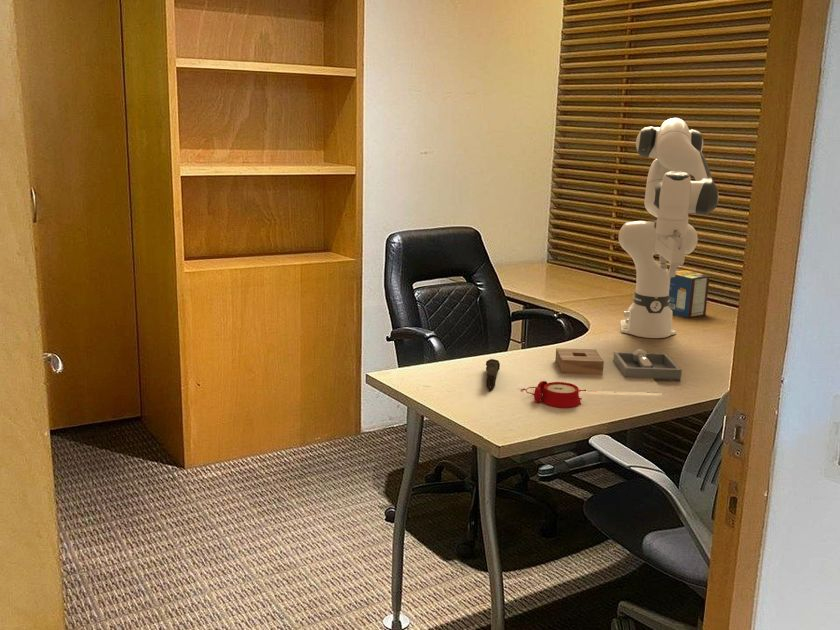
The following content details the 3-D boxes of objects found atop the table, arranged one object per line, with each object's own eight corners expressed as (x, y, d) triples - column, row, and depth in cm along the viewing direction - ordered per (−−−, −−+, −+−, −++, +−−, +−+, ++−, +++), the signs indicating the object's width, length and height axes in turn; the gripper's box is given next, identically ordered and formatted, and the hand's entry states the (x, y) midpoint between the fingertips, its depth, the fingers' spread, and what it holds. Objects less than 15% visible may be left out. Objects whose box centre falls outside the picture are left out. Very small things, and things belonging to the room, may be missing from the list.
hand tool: (485, 370, 243) (486, 355, 242) (499, 371, 242) (500, 356, 241) (479, 392, 225) (480, 376, 224) (494, 393, 224) (495, 377, 223)
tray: (612, 362, 253) (613, 352, 252) (665, 364, 253) (666, 353, 252) (624, 379, 237) (625, 368, 236) (680, 381, 237) (681, 369, 236)
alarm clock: (582, 398, 211) (527, 378, 215) (575, 420, 213) (520, 399, 217) (588, 386, 220) (535, 367, 224) (581, 406, 222) (529, 387, 226)
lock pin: (640, 375, 242) (632, 363, 251) (655, 373, 242) (646, 361, 251) (640, 361, 241) (631, 350, 249) (655, 359, 241) (646, 348, 249)
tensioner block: (555, 363, 251) (556, 348, 250) (594, 364, 251) (595, 349, 250) (561, 375, 239) (562, 360, 238) (602, 377, 239) (603, 361, 238)
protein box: (674, 306, 328) (678, 268, 324) (706, 315, 316) (710, 275, 312) (656, 309, 323) (660, 270, 319) (687, 318, 310) (692, 277, 306)
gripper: (692, 234, 234) (687, 281, 238) (673, 221, 253) (668, 265, 257) (670, 234, 234) (665, 281, 238) (652, 221, 253) (648, 264, 257)
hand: (667, 272), depth 248 cm, fingers open, 8 cm apart
